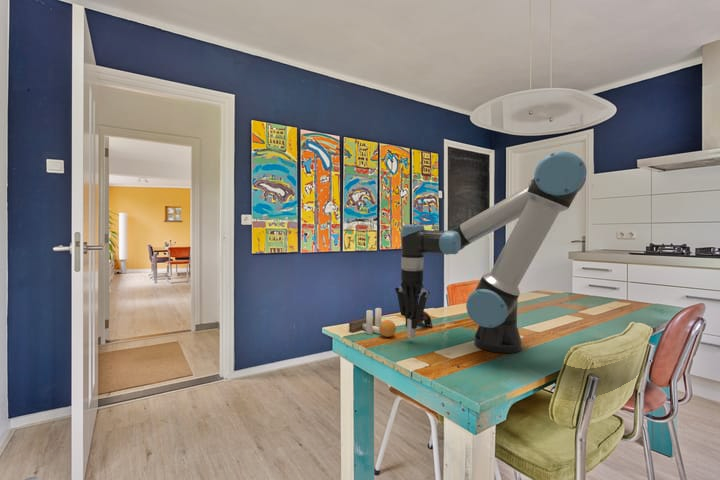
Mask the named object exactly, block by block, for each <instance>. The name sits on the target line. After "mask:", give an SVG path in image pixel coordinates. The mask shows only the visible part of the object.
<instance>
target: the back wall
mask: <svg viewBox="0 0 720 480" xmlns="http://www.w3.org/2000/svg"><path fill="white" fill-rule="evenodd" d="M364 323H365V324H366V317H363V318H360V319H356V320H353V321H349V322H348V332H349V333H356V332H360V331H362V330H363V329H362V325H363V324H364ZM373 326H375V316H373ZM363 331H364V330H363Z"/></svg>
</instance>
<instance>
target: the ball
mask: <svg viewBox="0 0 720 480" xmlns="http://www.w3.org/2000/svg"><path fill="white" fill-rule="evenodd" d="M379 330H380V333H381V334H380V335H382V336H383V337H386V338H388V337H389V338H391V337H393V336H394V335H395V333H396V331H397V326H396V323H395V322H393V321H392V320H389V319H385V320H383V321H381V324H380V327H379Z"/></svg>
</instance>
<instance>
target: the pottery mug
mask: <svg viewBox="0 0 720 480" xmlns="http://www.w3.org/2000/svg"><path fill="white" fill-rule="evenodd" d="M423 322H424V325H429V326H430V328H431V329H433V327H434V326H433V322H432V318H431V316H430V314H429V313H428V312H426V311H425V310H424V312H423V316H422V317H421V318H418V319H417V325H419V324H421V325H423Z"/></svg>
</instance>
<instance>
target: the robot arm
mask: <svg viewBox="0 0 720 480" xmlns="http://www.w3.org/2000/svg"><path fill="white" fill-rule="evenodd" d="M533 176H534V177H533V178H532V179H531V180H530V181H529V183H528V185H527V186H525V187H523V188H522V189H520V190H518V191H516V192H514V193H513V194H511V195H510V196H508V197H506V198H504V199H502V200H501V201H499V202H498V203H495V204H494V205H493V206H490V207H488V208H487V209H485V210H483V211H482V212H480V213H478V214H477V215H475V216H473V217H471V218H470V219H467V220H466V221H464V222H463V223H460V224H459V225H457V226H456V227H454V228H451V229H449V230H425V226H424V225H423V224H404V225H402V230H401V256H400V257H401V258H400V259H401V260H400V261H401V263H400V267H401V271H400V279H401V283H400V285H399V286H397V287H395V288H394V291H395V292H396V295H397V299H398V300H397V301H398V306H399V311H400V315H401V316H403V317H404V318H405V328H406V338H408V339H413V338H416V329H417V328H418V324H417V319H418V318H421V317H422V316H423V312H424V311H425V306H426V303H427V300H428V297H429V296H430V291H429V290H426V289H425V288H424V284H423V281H424V270H423V269H424V259H425V257H424V254H428V253H429V254H438V255H439V254H440V255H446V256H447V255H448V256H449V255H457V254H458V253H459V251H461V250H463V249H464V248H465V247H467V246H469V245H470V244H472V243H475V242H476V241H478V240H480V239H482V238H484V237H486V236H487V235H489V234H492V232H493V233H494V231H496V230H499V229H500V228H502V227H504V226H506V225H508V224H510V223H511V222H513V221H516V220H517V219H518V220H517V221H516V223H515V225H514V227H513V229H512V231H511V233H510V234H509V236H508V239H507V240H506V242H505V244H504V246H503V247H502V249H501V252H500V254H499V256H498V257H497V259H496V261H495V263H494V265H493V267H492V268H491V270H490V272H487V273H484V274H483V275H482V276H481V278H480V280H479V282H478V283H477V286H476V287H475V289H474V291H472V292H471V293H470V294H469V296H468V297H467V299H466V307H465V308H466V312H467V314H468V316H469V318H470V320H471V321H473V323H475V324H476V325H478V326H477V329H476V331H475V334H474V337H473V339H474V340H473V343H474V346H476V347H477V348H479V349H481V350H485V351H487V352H491V353H498V354H514V353H515V354H516V353H519V352H521V351H522V350H523V348H522V347H523V341H522V338H521V335H520V332H519V327H518V301H519V300H518V298H519V297H520V295H521V292H520V289H519V285H520V284H521V282H522V280H523V278H524V276H525V274H526V273H527V270H528V269H529V267H530V265H531V264H532V262H533V261H534V258H535V256H536V254H537V253H538V252H539V250H540V248H541V246H542V244H543V242H544V241H545V239H546V237H547V235H548V234H549V231H550V230H551V228H552V226H553V225H554V223H555V221H556V219H557V217H558V216H559V214H560V213H561V212H565V211H566V210H567V211H568V210H569V208H570V206H571V205H572V203H573V202H574V199H575V198H576V196H577V194H578V192H580V191H581V190H582V188H583V187H584V185H585V184H586V180H587V167H586V164H585V162H584V161H583V159H582V158H581V157H579V156H578V155H576V154H574V153H572V152H570V151H564V150H563V151H556V152H555V151H554V152H552V153H550V154H547V155H546V156H545V157H543V158H541V160H540V161H539V162H538V164H537V166H536V168H535V171H534V175H533Z"/></svg>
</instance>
